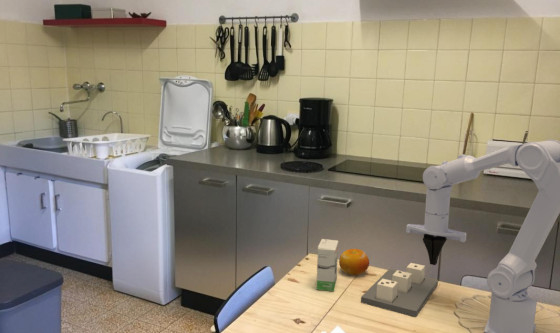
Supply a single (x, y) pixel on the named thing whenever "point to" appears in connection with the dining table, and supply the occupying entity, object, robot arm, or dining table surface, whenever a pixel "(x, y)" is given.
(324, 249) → the ink box
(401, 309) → the keypad board
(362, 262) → the fruit
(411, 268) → the key one
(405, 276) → the key two
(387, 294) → the key three
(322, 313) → the dining table surface
